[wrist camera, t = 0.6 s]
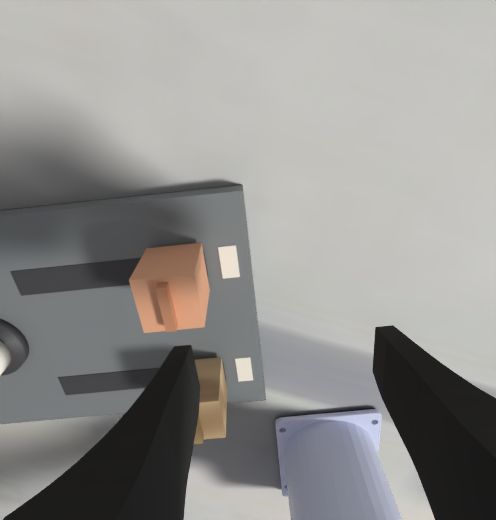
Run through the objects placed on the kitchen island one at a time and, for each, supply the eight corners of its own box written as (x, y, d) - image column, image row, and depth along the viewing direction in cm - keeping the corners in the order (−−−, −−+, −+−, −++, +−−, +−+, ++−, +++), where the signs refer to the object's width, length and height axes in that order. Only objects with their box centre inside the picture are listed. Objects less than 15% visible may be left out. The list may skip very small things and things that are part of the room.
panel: (264, 387, 26) (266, 407, 25) (9, 410, 27) (-5, 431, 25) (242, 184, 20) (242, 194, 18) (-96, 220, 20) (-125, 232, 19)
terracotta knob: (209, 290, 21) (203, 333, 17) (158, 295, 21) (141, 339, 17) (201, 242, 19) (192, 279, 16) (146, 248, 20) (125, 285, 16)
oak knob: (227, 391, 24) (225, 445, 21) (183, 395, 24) (173, 449, 21) (221, 357, 23) (218, 408, 19) (174, 361, 23) (162, 413, 19)
